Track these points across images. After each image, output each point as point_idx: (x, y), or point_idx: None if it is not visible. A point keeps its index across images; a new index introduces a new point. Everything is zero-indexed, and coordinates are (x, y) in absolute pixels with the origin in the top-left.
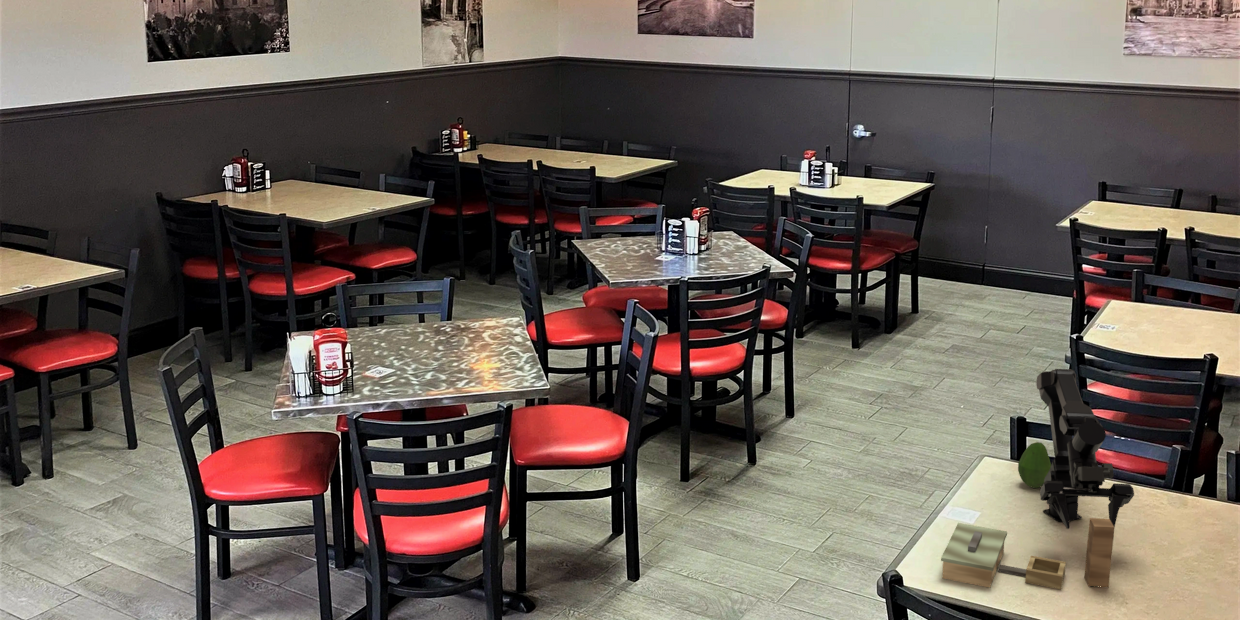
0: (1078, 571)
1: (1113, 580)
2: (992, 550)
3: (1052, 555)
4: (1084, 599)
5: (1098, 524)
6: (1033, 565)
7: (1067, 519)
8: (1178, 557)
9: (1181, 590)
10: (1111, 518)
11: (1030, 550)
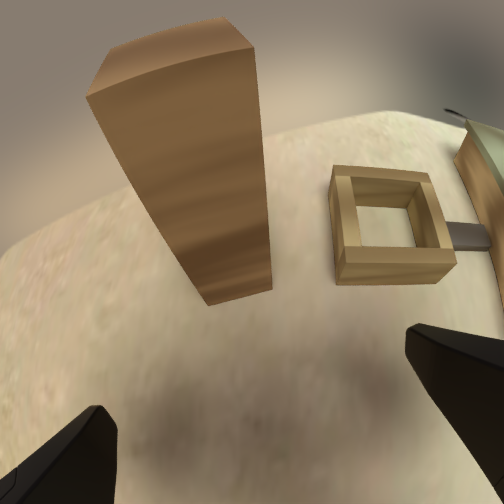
0: (294, 328)
1: (178, 304)
2: None
3: (394, 416)
4: None
5: (195, 28)
6: (428, 223)
7: (453, 340)
8: None
9: (34, 303)
10: (71, 465)
11: None
